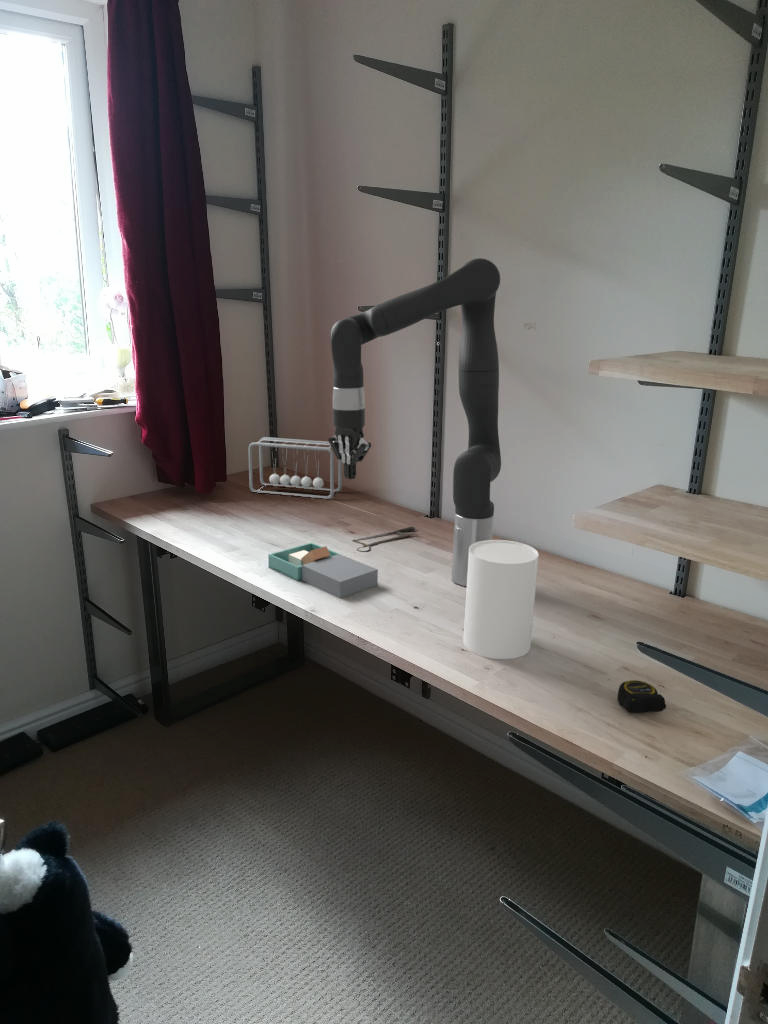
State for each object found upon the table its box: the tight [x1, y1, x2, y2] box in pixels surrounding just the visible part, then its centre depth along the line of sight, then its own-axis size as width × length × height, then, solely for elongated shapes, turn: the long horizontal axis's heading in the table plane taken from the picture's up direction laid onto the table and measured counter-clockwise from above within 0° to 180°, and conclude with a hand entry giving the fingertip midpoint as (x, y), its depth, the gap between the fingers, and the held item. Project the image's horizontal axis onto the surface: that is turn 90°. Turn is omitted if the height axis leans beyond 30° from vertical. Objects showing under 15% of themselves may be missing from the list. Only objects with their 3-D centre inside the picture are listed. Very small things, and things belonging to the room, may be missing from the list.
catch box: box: [267, 542, 340, 582], centre depth 189 cm, size 12×14×4 cm
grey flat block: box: [301, 553, 379, 599], centre depth 179 cm, size 14×12×4 cm
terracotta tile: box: [301, 545, 330, 564], centre depth 185 cm, size 5×5×2 cm
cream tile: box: [289, 550, 308, 566], centre depth 189 cm, size 5×5×2 cm
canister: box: [462, 539, 540, 660], centre depth 149 cm, size 14×14×20 cm
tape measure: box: [617, 679, 667, 714], centre depth 129 cm, size 7×7×4 cm
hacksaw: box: [351, 526, 419, 553], centre depth 211 cm, size 24×10×2 cm, turn 123°
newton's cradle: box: [248, 436, 343, 500], centre depth 253 cm, size 30×10×18 cm, turn 77°
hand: (349, 478), depth 179 cm, fingers closed
